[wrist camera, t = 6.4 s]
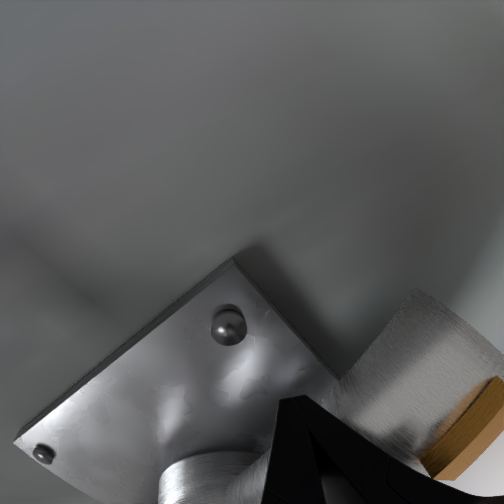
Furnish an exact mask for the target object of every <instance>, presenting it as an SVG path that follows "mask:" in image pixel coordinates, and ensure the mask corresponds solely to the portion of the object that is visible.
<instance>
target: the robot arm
mask: <svg viewBox="0 0 504 504" xmlns="http://www.w3.org/2000/svg"><path fill="white" fill-rule="evenodd" d="M260 504H504V495H503V496H493V497H482V496H475V495H471V494H468V493H465V492H463V491H460V490H458V489H455V488H453V487H451V486H448V485H446V484H443V483H441V482H439V481H437V480H434V479H432V478H430V477H428V476H426V475H424V474H422V473H420V472H418V471H416V470H414V469H412V468H411V467H409V466H407V465H406V464H404V463H402V462H401V461H399V460H398V459H396V458H395V457H393V456H390V454H388V453H387V452H385V451H384V450H382V449H381V448H379V447H378V446H376V445H375V444H373V443H372V442H371V441H369V440H368V439H366V438H365V437H363V436H362V435H360V434H359V433H358V432H356V431H355V430H353V429H352V428H351V427H349V426H348V425H346V424H345V423H344V422H342V421H341V420H339V419H338V418H337V417H335V416H334V415H333V414H331V413H330V412H328V411H327V410H326V409H324V408H323V407H322V406H320V405H319V404H318V403H316V402H315V401H314V400H312V399H311V398H310V397H308V396H307V395H305V394H303V395H298V396H293V397H287V398H282V399H279V401H278V407H277V414H276V420H275V426H274V432H273V438H272V444H271V449H270V455H269V461H268V466H267V471H266V477H265V482H264V487H263V491H262V497H261V502H260Z"/></svg>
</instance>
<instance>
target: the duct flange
mask: <svg viewBox="0 0 504 504" xmlns="http://www.w3.org/2000/svg"><path fill="white" fill-rule="evenodd" d="M339 380H340V379H339V378H338V377H337V376H336V375H335V374H334V373H333V371H332V370H331V369H330V368H329V367H328V366H327V365H326V364H325V362H324V361H323V360H322V359H321V358H320V357H319V356H318V355H317V353H316V352H315V351H314V350H313V349H312V348H311V347H310V346H309V344H308V343H307V342H306V341H305V340H304V339H303V338H302V336H301V335H300V334H299V333H298V332H297V331H296V330H295V329H294V327H293V326H292V325H291V324H290V323H289V322H288V321H287V319H286V318H285V317H284V316H283V315H282V314H281V313H280V311H279V310H278V309H277V308H276V307H275V306H274V305H273V303H272V302H271V301H270V300H269V299H268V298H267V296H266V295H265V294H264V293H263V292H262V291H261V290H260V288H259V287H258V286H257V285H256V284H255V283H254V281H253V280H252V279H251V278H250V277H249V276H248V275H247V273H246V272H245V271H244V270H243V269H242V268H241V266H240V265H239V264H238V263H237V262H236V261H235V259H234V258H233V257H231V258H229V259H228V260H227V261H226V262H224V263H223V264H222V265H221V266H219V267H218V268H217V269H216V270H214V271H213V272H212V273H211V274H209V275H208V276H207V277H206V278H205V279H203V280H202V281H201V282H200V283H198V284H197V285H196V286H195V287H193V288H192V289H191V290H190V291H188V292H187V293H186V294H185V295H184V296H182V297H181V298H180V299H179V300H177V301H176V302H175V303H174V304H172V305H171V306H170V307H169V308H168V309H166V310H165V311H164V312H163V313H161V314H160V315H159V316H158V317H157V318H155V319H154V320H153V321H152V322H150V323H149V324H148V325H147V326H145V327H144V328H143V329H142V330H141V331H139V332H138V333H137V334H136V335H135V336H133V337H132V338H131V339H130V340H128V341H127V342H126V343H125V344H124V345H122V346H121V347H120V348H119V349H117V350H116V351H115V352H114V353H113V354H111V355H110V356H109V357H108V358H107V359H105V360H104V361H103V362H102V363H100V364H99V365H98V366H97V367H96V368H94V369H93V370H92V371H91V372H90V373H88V374H87V375H86V376H85V377H84V378H82V379H81V380H80V381H79V382H78V383H76V384H75V385H74V386H73V387H71V388H70V389H69V390H68V391H67V392H65V393H64V394H63V395H62V396H61V397H59V398H58V399H57V400H56V401H55V402H53V403H52V404H51V405H50V406H49V407H47V408H46V409H45V410H44V411H43V412H42V413H40V414H39V415H38V416H37V417H36V418H34V419H33V420H32V421H31V422H30V423H28V424H27V425H26V426H25V427H24V428H22V429H21V430H20V431H19V432H18V434H17V436H16V438H15V440H14V442H13V443H14V444H15V445H17V446H18V447H19V448H20V449H22V450H23V451H24V452H25V453H27V454H28V455H29V456H31V457H32V458H33V459H34V460H36V461H37V462H39V463H40V464H41V465H43V466H44V467H45V468H47V469H48V470H50V471H51V472H53V473H54V474H56V475H57V476H58V477H60V478H61V479H63V480H65V481H66V482H68V483H69V484H71V485H72V486H74V487H76V488H77V489H79V490H81V491H82V492H84V493H86V494H87V495H89V496H91V497H93V498H94V499H96V500H98V501H100V502H102V503H103V504H158V492H159V481H160V477H161V475H162V474H163V472H164V471H165V470H166V469H167V468H169V467H170V466H171V465H173V464H175V463H176V462H179V461H181V460H183V459H186V458H189V457H192V456H196V455H200V454H206V453H211V452H221V451H246V452H255V453H261V454H265V453H266V452H267V451H268V450H269V449H270V448H271V444H272V438H273V432H274V426H275V420H276V414H277V407H278V401H279V399H282V398H287V397H293V396H298V395H303V394H305V395H307V396H308V397H310V398H311V399H312V400H314V401H315V402H316V403H319V402H320V401H321V400H322V399H323V398H324V396H325V395H326V394H327V393H328V392H329V391H330V390H331V389H332V388H333V387H334V386H335V385H336V384H337V383H338V382H339Z"/></svg>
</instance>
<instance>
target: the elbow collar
mask: <svg viewBox="0 0 504 504" xmlns="http://www.w3.org/2000/svg"><path fill="white" fill-rule="evenodd" d="M318 404H319V405H320V406H322V407H323V408H324V409H326V410H327V411H328V412H330V413H331V414H333V415H334V416H335V417H337V418H338V419H339V420H341V421H342V422H344V423H345V424H346V425H348V426H349V427H351V428H352V429H353V430H355V431H356V432H358V433H359V434H360V435H362V436H363V437H365V438H366V439H368V440H369V441H371V442H372V443H373V444H375V445H376V446H378V447H379V448H381V449H382V450H384V451H385V452H387V453H388V454H390V456H393V457H395V458H396V459H398V460H399V461H401V462H402V463H404V464H406V465H407V466H409V467H411V468H412V469H414V470H416V471H418V472H420V473H422V474H424V475H426V476H428V475H430V477H431V478H432V479H434V480H455V479H456V478H457V477H458V476H460V475H461V474H462V473H463V472H464V471H465V470H466V469H467V468H468V467H469V466H470V465H471V464H472V463H473V462H474V461H475V460H476V459H477V458H478V457H479V456H480V455H481V454H482V453H483V452H484V451H485V450H486V449H487V448H488V447H489V446H490V445H491V443H492V442H493V441H494V440H495V439H496V438H497V437H498V436H499V434H500V433H501V432H502V431H503V430H504V355H503V354H502V353H501V352H500V351H499V350H498V349H497V348H496V347H495V346H494V345H492V344H491V343H490V342H489V341H488V340H487V339H486V338H485V337H484V336H482V335H481V334H480V333H479V332H478V331H477V330H475V329H474V328H473V327H472V326H470V325H469V324H468V323H467V322H466V321H464V320H463V319H462V318H460V317H459V316H458V315H456V314H455V313H454V312H452V311H451V310H450V309H448V308H447V307H446V306H444V305H443V304H441V303H440V302H438V301H437V300H435V299H434V298H432V297H431V296H429V295H428V294H426V293H424V292H423V291H421V290H419V289H416V288H414V289H413V291H412V292H411V293H410V295H409V296H408V297H407V299H406V300H405V302H404V303H403V304H402V306H401V307H400V308H399V310H398V311H397V312H396V314H395V315H394V316H393V317H392V319H391V320H390V321H389V323H388V324H387V325H386V326H385V328H384V329H383V330H382V331H381V333H380V334H379V335H378V336H377V338H376V339H375V340H374V341H373V343H372V344H371V345H370V346H369V347H368V349H367V350H366V351H365V352H364V353H363V354H362V356H361V357H360V358H359V359H358V360H357V361H356V363H355V364H354V365H353V366H352V367H351V368H350V369H349V371H348V372H347V373H346V374H345V375H344V376H343V377H342V378H341V379H340V380H339V382H338V383H337V384H336V385H335V386H334V387H333V388H332V389H331V390H330V391H329V392H328V393H327V394H326V395H325V396H324V398H323V399H322V400H321V401H320V402H319V403H318ZM270 449H271V448H270ZM270 449H269V450H268V451H267V452H266V453H265V454H261V453H255V452H246V451H221V452H211V453H206V454H200V455H196V456H192V457H189V458H186V459H183V460H181V461H179V462H176V463H175V464H173V465H171V466H170V467H169V468H167V469H166V470H165V471H164V472H163V474H162V475H161V477H160V481H159V492H158V504H260V502H261V497H262V491H263V487H264V482H265V477H266V471H267V466H268V461H269V455H270Z"/></svg>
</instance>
